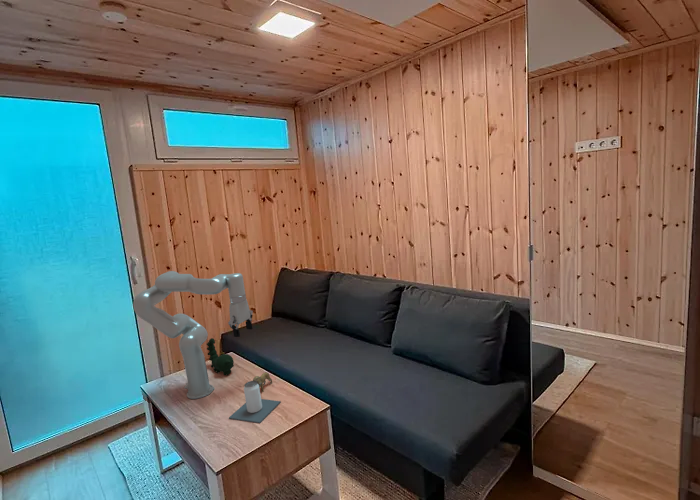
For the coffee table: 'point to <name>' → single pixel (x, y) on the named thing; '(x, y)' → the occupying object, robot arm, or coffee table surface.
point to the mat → (258, 416)
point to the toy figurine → (219, 359)
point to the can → (252, 397)
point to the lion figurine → (262, 380)
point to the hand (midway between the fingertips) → (243, 332)
